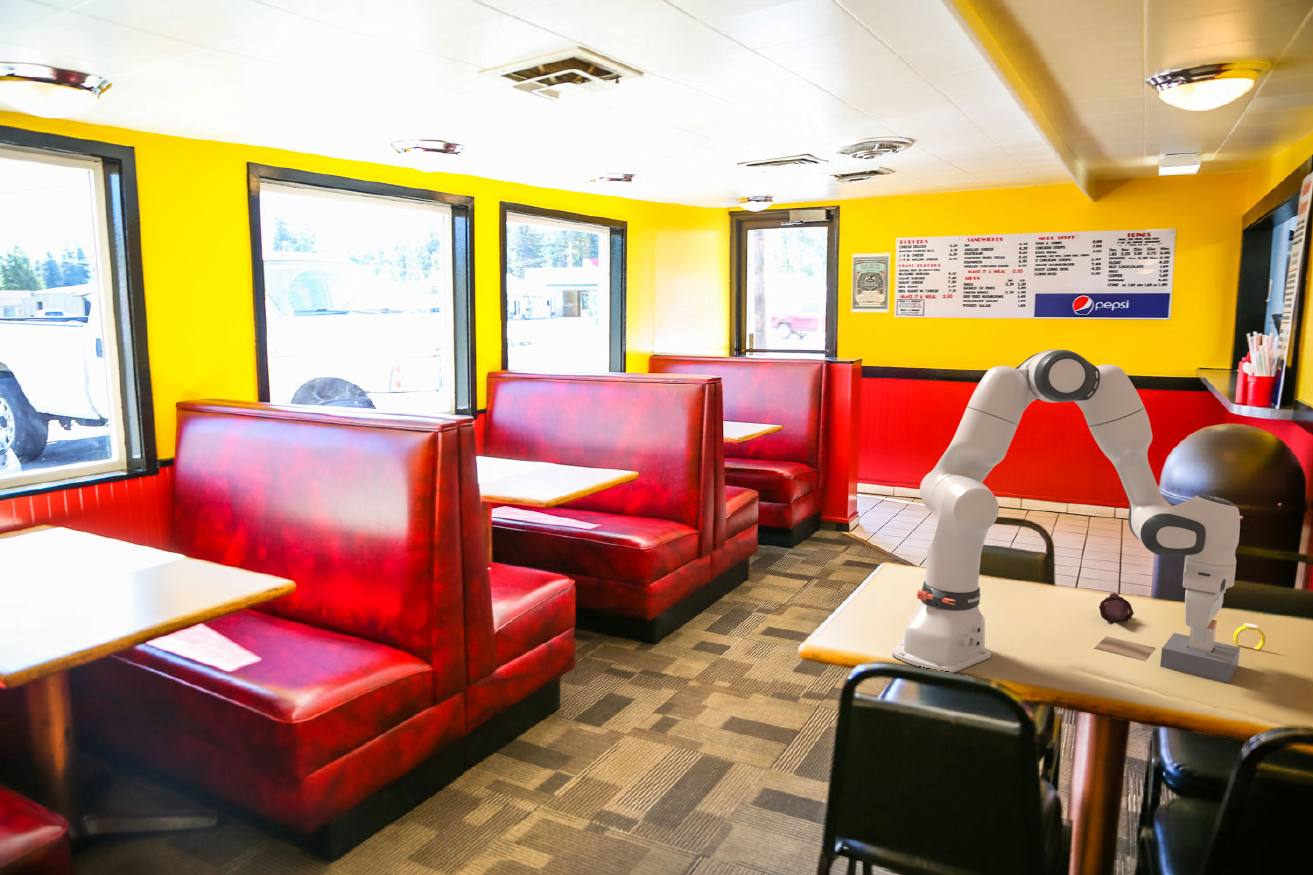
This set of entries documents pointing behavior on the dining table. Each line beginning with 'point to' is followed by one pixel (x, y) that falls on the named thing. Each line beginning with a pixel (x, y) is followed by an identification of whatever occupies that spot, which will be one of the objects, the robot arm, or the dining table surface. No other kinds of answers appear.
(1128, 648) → the pad
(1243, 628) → the watch
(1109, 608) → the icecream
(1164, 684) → the dining table surface
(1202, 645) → the plug
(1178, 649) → the block
